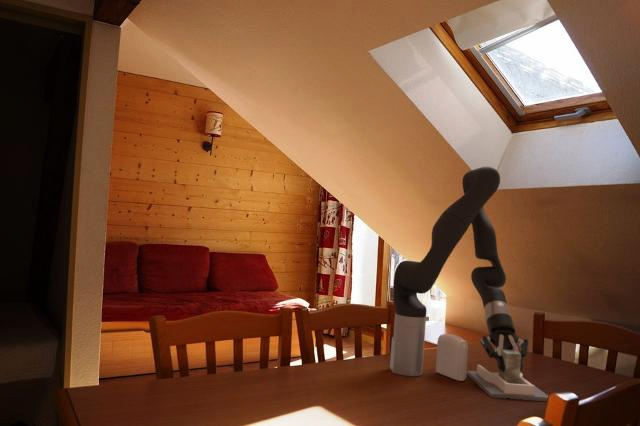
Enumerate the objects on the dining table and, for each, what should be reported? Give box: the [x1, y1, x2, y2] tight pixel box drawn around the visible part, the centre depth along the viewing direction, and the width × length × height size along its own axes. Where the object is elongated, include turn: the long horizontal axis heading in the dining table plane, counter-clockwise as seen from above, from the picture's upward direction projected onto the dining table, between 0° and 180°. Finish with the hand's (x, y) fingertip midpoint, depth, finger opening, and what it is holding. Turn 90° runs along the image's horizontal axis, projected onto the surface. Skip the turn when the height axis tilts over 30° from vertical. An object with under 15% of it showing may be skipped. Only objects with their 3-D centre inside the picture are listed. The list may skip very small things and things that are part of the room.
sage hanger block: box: [498, 349, 522, 384], centre depth 149 cm, size 4×5×9 cm
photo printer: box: [435, 333, 469, 382], centre depth 157 cm, size 10×4×12 cm, turn 29°
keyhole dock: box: [466, 364, 549, 402], centre depth 150 cm, size 16×22×4 cm
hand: (511, 370), depth 147 cm, fingers closed on sage hanger block, 4 cm apart
